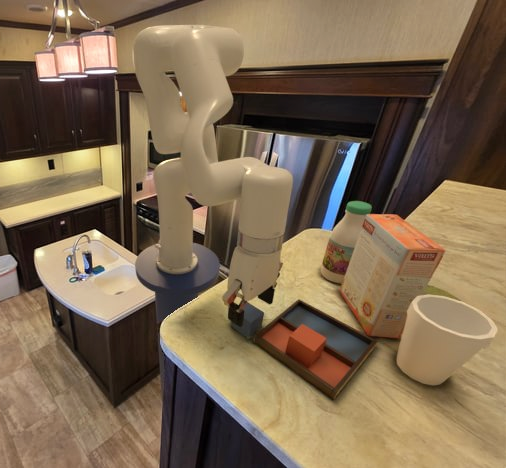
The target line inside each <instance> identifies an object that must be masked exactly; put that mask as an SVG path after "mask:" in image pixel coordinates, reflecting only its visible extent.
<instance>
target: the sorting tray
mask: <svg viewBox="0 0 506 468" xmlns="http://www.w3.org/2000/svg"><path fill="white" fill-rule="evenodd" d="M302 324H303V325H305V326H307V327H309V328H310V329H312V330H314V331H315V332H317V333H319V334H320V335H322V336H324V337H326V338H327V340H326V343H325V346H324V349H323V352H322V355H321V356H320V357H319V358H318V359H317V360H316V361H315V362H314V363H313V364H312V366H311V367H310V368H308V367H306V366H305V365H303V364H302V363H300V362H299V361H298V360H296V359H295V358H293V357H292V356H290V355H289V354H287V353H286V352H285V351H286V347H287V343H288V340H289V336H290V335H291V334H292V333H293V332H294V331H295V330H296V329H297V328H299V327H300V326H301V325H302ZM253 343H255V344H256V345H258V346H259V347H260V348H261V349H263V350H264V351H265V352H267V353H268V354H270V355H271V356H273V358H275V359H277V360H278V361H280V363H282V364H284V365H285V366H287V368H289V369H290V370H292V371H293V372H295V374H298V376H300V377H302V378H303V379H304V380H306V381H308V382H309V383H310V384H312V386H313V387H316V389H318V390H319V391H321V392H322V393H324V394H325V395H327V396H328V397H329V398H331V400H335V399H336V398H337V396H338V395H339V394H340V393H341V391H342V390H343V389H344V388H345V386H347V384H348V382H350V380H351V379H352V377H354V375H355V373H356V372H357V371H358V370H359V368H360V367H361V366H362V365H363V363H364V362H365V361H366V359H367V358H368V357H369V356H370V355H371V353H372V352H373V351H374V350H375V348H376V346H377V344H378V340H377V339H375V338H373V337H372V336H368V335H367V333H366V334H365V333H363V332H361V331H360V330H358V329H356V328H354V327H352V326H351V325H348V324H347V323H345V322H343V321H341V320H339V319H337V318H335V317H334V316H331V315H329V314H328V313H326V312H324V311H323V310H321V309H319V308H316V307H315V306H312V305H311V304H309V303H308V302H305V301H303V300H301V299H299V298H298V299H297V300H296V301H295V302H294V303H292V304H291V305H290V306H288V307H287V308H286V309H285V310H284V311H282V312H281V313H280V314H279V315H277V316H276V317H275V318H274V319H273V320H271V321H269V323H267V325H265V326H264V327H263V328H261V329H260V330H258V331H257V332H256V333H255V334H254V339H253Z"/></svg>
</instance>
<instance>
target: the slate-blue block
mask: <svg viewBox="0 0 506 468" xmlns="http://www.w3.org/2000/svg"><path fill="white" fill-rule="evenodd" d="M243 310H244V320H243V326H242V327H239V326H237V325H236V324H234V323H233V322H231V321H230V327H231V328H233V329H235V330H236V331H237V332H239V333H240V334H241V335H242V336H244V337H245V338H247V339H250V338H251V337H253V335H256V334H257V333H258V332H259V331H261V330H262V329H263V328H262V327H263V321H264V316H265V312H264V311H263V310H262V309H260V308H259V307H256V306H255V305H253V304H252V303H250V302H249V301H247V302H246V304H245V306H244V308H243Z"/></svg>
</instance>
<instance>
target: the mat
mask: <svg viewBox="0 0 506 468" xmlns="http://www.w3.org/2000/svg"><path fill="white" fill-rule="evenodd" d="M427 294H430V295H438V296H445V297H448V298H452V299H455V300H458V301H461V299H460V298H459V297H457V296H456V295H453V294H452V293H450V292H448V291H446V290H444V289H442V288H439V287H436V286H434V285H430V284H428V285H427V287H426V289H425V291H424V293H423V295H427Z"/></svg>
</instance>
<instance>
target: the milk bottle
mask: <svg viewBox="0 0 506 468" xmlns="http://www.w3.org/2000/svg"><path fill="white" fill-rule="evenodd" d="M372 208H373V207H372V204H370V203H367V202H366V201H365V202H364V201H361V200H351V201H348V203H347V204H346V207H345V211H344V212H345V214H344V216H343V217H342V219H341V220H340V221H339V222H337V224H336V225H335V226H334V227H333V229H332V231H331V233H330V236H329V238H328V242H327V245H326V249H325V252H324V254H323V259H322V262H321V266H320V274H321V275H322V276H323V278H325V279H326V280H328V281H330V282H333V283H335V284H341V285H342V283H343V280H344V277H345V274H346V271H347V269H348V266H349V263H350V260H351V257H352V254H353V251H354V249H355V246H356V243H357V240H358V237H359V234H360V231H361V228H362V226H363V223H364V220H365V217H366V214H371V212H372V210H373V209H372Z"/></svg>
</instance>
